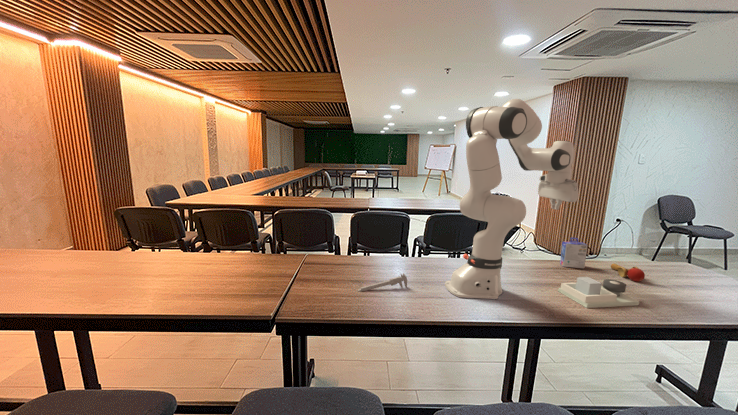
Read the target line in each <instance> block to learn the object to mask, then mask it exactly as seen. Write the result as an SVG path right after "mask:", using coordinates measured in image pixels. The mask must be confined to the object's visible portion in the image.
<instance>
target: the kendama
mask: <svg viewBox="0 0 738 415" xmlns="http://www.w3.org/2000/svg"><path fill="white" fill-rule="evenodd" d="M610 268H611V269H612V270H615V271H617V274H618V276H619V277H621V278H627V277H628V279H630V280H631V281H632V282H636V283H637V282H641V281H643V280H645V277H646V274H645V273H644V271H643V270H642V269H641V268H639V267H637V266H632V267H631V268H626V267H624V266H621V265H618V264H617V263H612V264H611V265H610Z"/></svg>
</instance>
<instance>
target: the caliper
mask: <svg viewBox="0 0 738 415" xmlns="http://www.w3.org/2000/svg"><path fill="white" fill-rule="evenodd" d="M407 278H408V277H407V275H406V274H405V272H403V273H400V276H396V277H392V278H389V280H385V281H384V280H383V281H380V282H378V283H374V284H370V285H366V286H362V287H361V286H360V288H358V289H357V291H358V292H366V291H369V290H374V289H378V288H382V287H385V286H389V285H390V286H396V285H397V284H399V286H400V288H401V289H402V288H404V287H405V288H407V287H408V279H407ZM403 284H404V285H403ZM403 286H404V287H403Z"/></svg>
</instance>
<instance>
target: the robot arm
mask: <svg viewBox="0 0 738 415" xmlns="http://www.w3.org/2000/svg"><path fill="white" fill-rule="evenodd" d="M542 129H543V122H542V121H541V118H540V117H539V116H538V115H537V113H536V112H535V110H534V109H533V108H532V107H531V106H530V105H529V104H527V103H526V102H525V101H524V100H523V99H520V98H511V99H509V100H508V101H507V100H506V102H505V103H503V104H502V105H501V106H498V105H495V106H493V105H491V106H480V107H476V108H473V109H472V110H470V111H469V112H468V114H467V116H466V119H465V130H466V133H467V134H466V135H467V136H468V138H469V139H468V140H467V141H466V143H465V144H466V145H465V149H466V150H465V155H466V158H465V159H466V165H467V170H468V176H469V190H468V192H467V193H465V194H464V195H463V196H462V198H461V200H460V201H459V211H460V213H461V215H463V216H465V217H467V218H469V219H473V220H477V221H482V222H486V223H487V226H486V229H483V230H480V231H477V232H476V233H475V234H474V236H473V242H472V250H471V251H472V252H471V254H470V255H468V253H464V254H463V255H462V258H463V259H464V260H467V262H465V263H463V265H461V266H460V267H458V268H456V269H455V270H454V271H453V272H452V274H451V277H450V280H446V281H445V283H444V286H445V288H446V290H447V291H448V292H450V293H451V294H452V295H454V296H456V297H458V298H468V299H470V298H471V299H487V300H488V299H490V300H491V299H493V300H495V299H496V300H497V299H498V298H499V297H500V295H502V294H503V289H502V288H503V287H502V280H501V270H502V267H503V256H502V255H503V248H504V241H505V238H506V236H507V235H508V233H509V232H510V231H511V230H512V229H513V228H515V227H517V226H519V225H520V224H521V223H522V222H523V221H524V220H525V219H526V216H527V207H526V205H525V203H524V201H523V200H521V199H518V198H515V197H512V196H508V195H500V194H493V193H492V192H491V191H492V190H494V189H496V188H497V187H499V185H500V184H501V182H502V179H503V176H502V170H501V169H502V168H501V163H500V155H499V153H498V148H497V142H498V140H501V139H502V140H504V139H505V140H507V141H508V143H509V145H510V147H511V150H513V152H514V154H515V156H516V158H517V160H518V164H519V166H520V168H521V169H522V170H523V171H525V172H529V171H530V172H531V171H541V172H547V173H546V174H542V175H540V176H539V178H538V179H539V183H538V188H537V194H538V197H541V198H546V199H547V198H548V199H549V202H550V206H551V207H550V208H551V209H552V210H556V211H558V210H560V206H561V205H562V204H563V202H566V203H576V202H577V201H578V200H579V183H578V182H577V181H576V179H572V173H573V172H572V165H573V163H574V157H575V148H574V143H573V142H572V141H569V140H556V141H553V144H552V146H550V147H544V148H539V147H538V148H537V147H529V146H528V145H529V144H530V143H532V142H534V141H535V140H536V139H537V138H538V137H539V136H540V135H541V132H542Z"/></svg>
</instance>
